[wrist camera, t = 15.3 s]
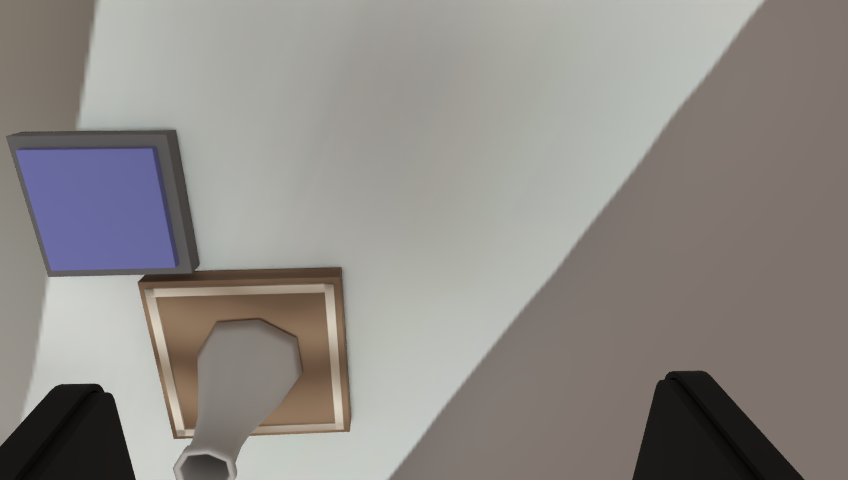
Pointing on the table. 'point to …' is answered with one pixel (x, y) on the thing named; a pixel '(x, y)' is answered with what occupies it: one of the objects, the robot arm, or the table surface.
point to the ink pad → (106, 201)
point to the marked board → (250, 300)
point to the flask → (236, 393)
